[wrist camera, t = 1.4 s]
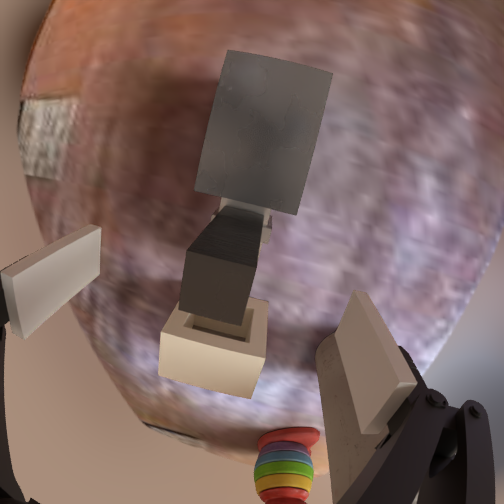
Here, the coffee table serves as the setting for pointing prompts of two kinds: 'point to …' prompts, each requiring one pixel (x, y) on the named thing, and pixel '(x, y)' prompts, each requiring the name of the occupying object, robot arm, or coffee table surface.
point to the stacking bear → (285, 465)
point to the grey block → (262, 131)
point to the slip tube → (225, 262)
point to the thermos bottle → (342, 421)
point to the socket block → (215, 350)
